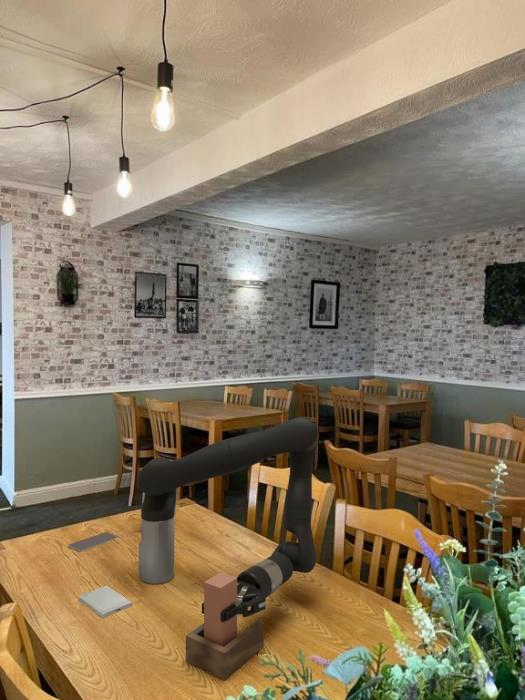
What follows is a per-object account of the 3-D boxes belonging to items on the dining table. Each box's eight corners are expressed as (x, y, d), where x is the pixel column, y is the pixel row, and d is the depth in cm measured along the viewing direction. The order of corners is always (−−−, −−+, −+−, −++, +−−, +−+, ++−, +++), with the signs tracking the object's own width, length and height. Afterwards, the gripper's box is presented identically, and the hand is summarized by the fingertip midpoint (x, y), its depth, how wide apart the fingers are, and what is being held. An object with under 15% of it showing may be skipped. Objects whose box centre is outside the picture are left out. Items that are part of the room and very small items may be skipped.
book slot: (185, 661, 109) (185, 635, 109) (226, 631, 120) (226, 607, 120) (224, 680, 103) (225, 653, 103) (263, 647, 114) (263, 622, 114)
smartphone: (119, 536, 174) (80, 550, 162) (119, 539, 174) (80, 553, 162) (106, 531, 179) (66, 544, 167) (105, 534, 179) (66, 547, 167)
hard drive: (78, 595, 134) (103, 613, 125) (107, 585, 139) (132, 601, 131) (78, 602, 134) (103, 620, 125) (107, 591, 139) (132, 607, 131)
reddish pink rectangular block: (203, 657, 109) (204, 582, 108) (220, 644, 113) (220, 572, 113) (220, 665, 106) (220, 588, 106) (236, 651, 111) (237, 577, 110)
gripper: (235, 557, 125) (186, 586, 111) (285, 573, 117) (239, 606, 103) (235, 588, 125) (186, 620, 111) (285, 606, 117) (239, 643, 103)
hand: (212, 613), depth 107 cm, fingers closed on reddish pink rectangular block, 4 cm apart
